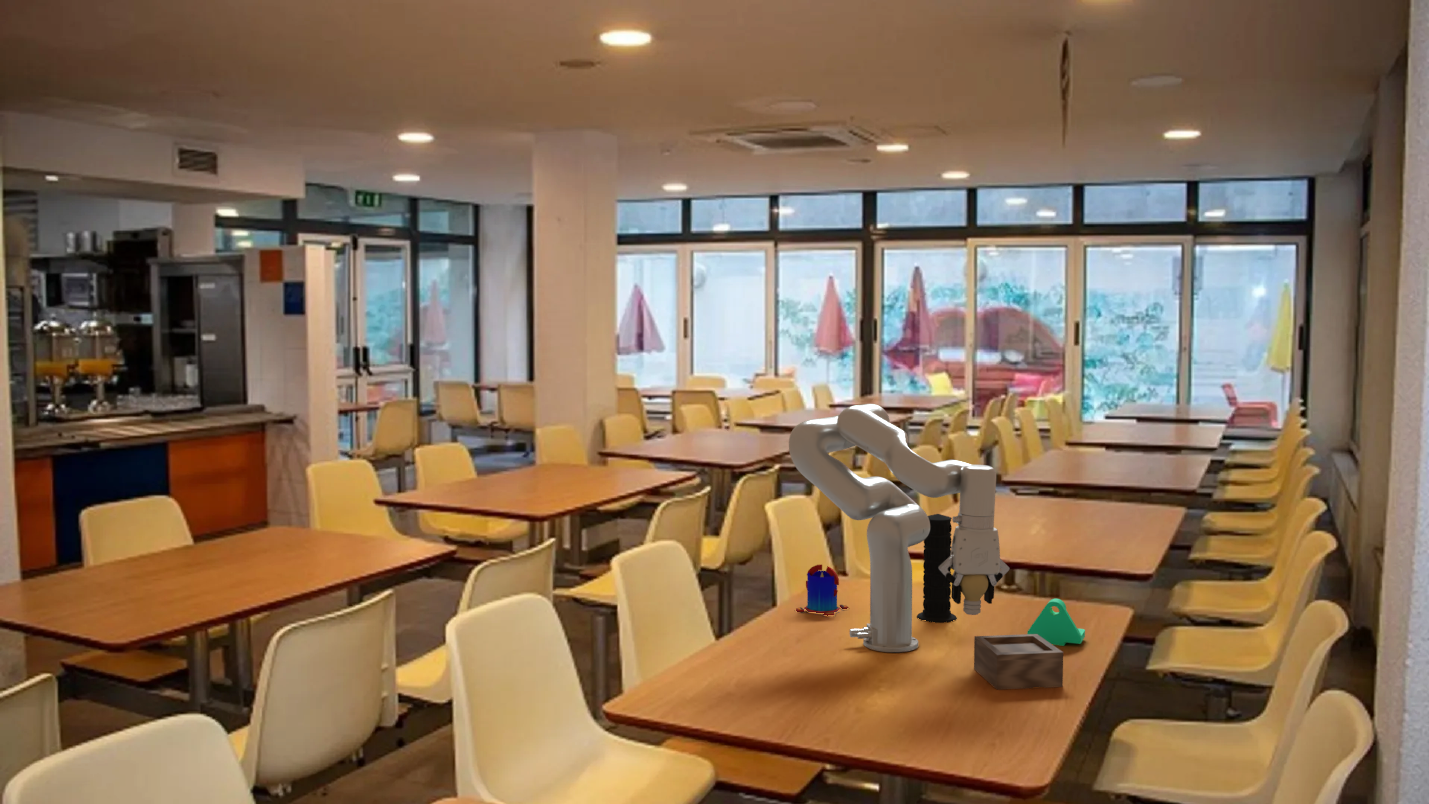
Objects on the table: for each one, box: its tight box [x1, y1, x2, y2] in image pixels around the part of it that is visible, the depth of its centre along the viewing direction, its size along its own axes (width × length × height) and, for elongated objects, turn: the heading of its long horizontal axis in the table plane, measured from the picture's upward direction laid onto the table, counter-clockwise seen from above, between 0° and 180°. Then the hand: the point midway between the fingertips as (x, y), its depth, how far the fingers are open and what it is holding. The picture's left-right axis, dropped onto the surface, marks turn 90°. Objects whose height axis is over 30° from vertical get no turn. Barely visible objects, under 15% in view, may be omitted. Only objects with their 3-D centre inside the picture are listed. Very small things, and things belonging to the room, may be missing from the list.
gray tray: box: [973, 634, 1064, 690], centre depth 251 cm, size 14×14×7 cm
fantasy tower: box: [795, 564, 849, 616], centre depth 308 cm, size 12×12×12 cm
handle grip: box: [916, 513, 958, 624], centre depth 299 cm, size 10×26×10 cm
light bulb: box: [960, 575, 988, 616], centre depth 262 cm, size 6×6×10 cm
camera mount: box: [1026, 598, 1086, 647], centre depth 279 cm, size 12×8×10 cm, turn 65°
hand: (972, 601), depth 262 cm, fingers closed on light bulb, 6 cm apart
